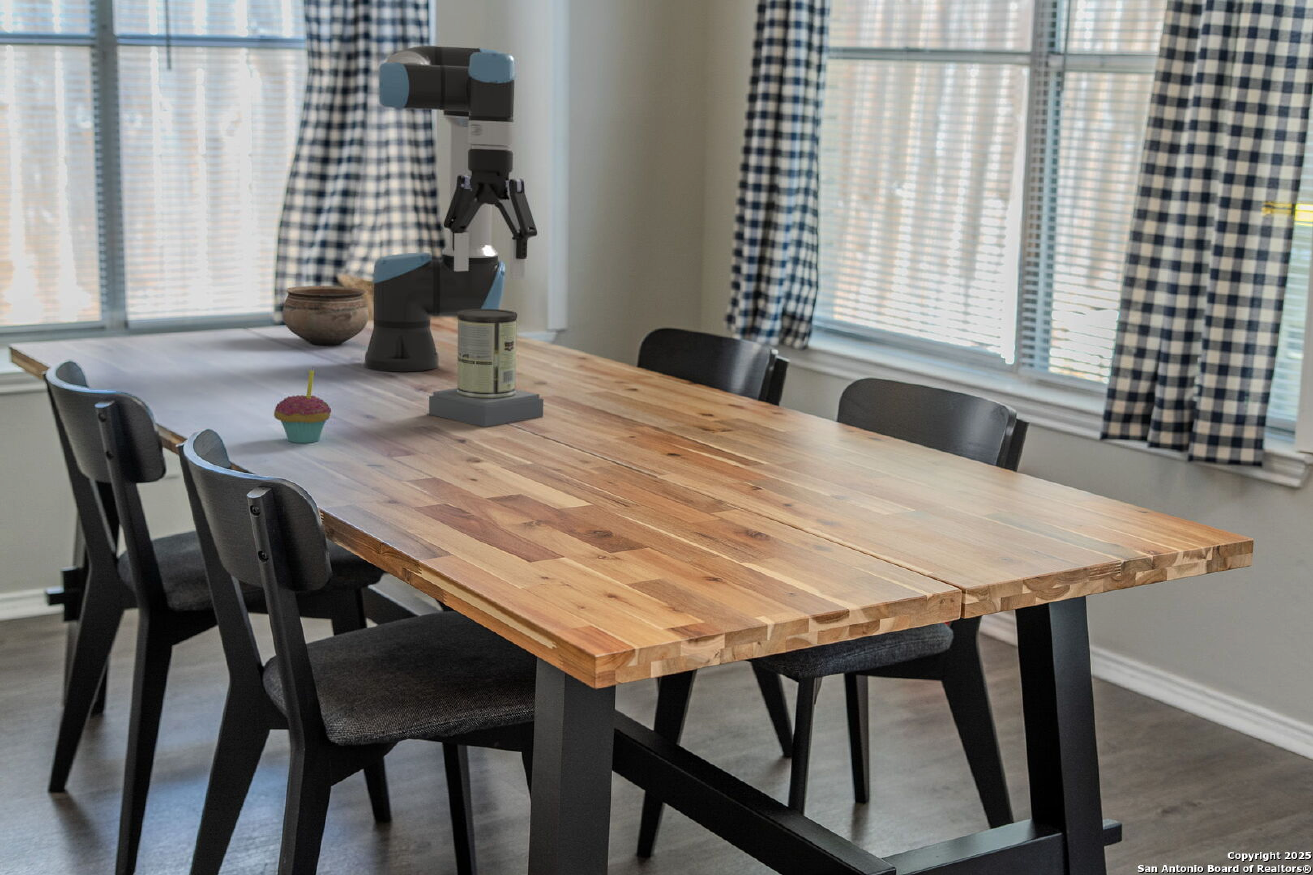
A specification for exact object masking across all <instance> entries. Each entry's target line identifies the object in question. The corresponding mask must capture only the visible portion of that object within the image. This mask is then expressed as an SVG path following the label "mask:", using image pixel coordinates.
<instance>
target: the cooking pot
mask: <svg viewBox="0 0 1313 875" xmlns="http://www.w3.org/2000/svg"><path fill="white" fill-rule="evenodd" d="M285 291H286V292H287V296H286V299H285V301H284V305H283V308H282V313H281V314H282V320H283V323H284V324H285V325H286V327H287V328H288V330H289V331H291V333H293V334H294V335H295V336H297V337H298V338H300V339H302V340H304V341H306V342H307V343H309V344H310V345H312V346H318V347H338V346H341V345H342V344H344V343H346V342H347V341H349V340H351V339H352V338H353V337H355V336H357V335H358V334H360V333H361V332H362V331H363V330H364V329H365V328H366V326H367V323H368V320H369V316H370V315H369V308H368V305H367V302H366V300H365V298H364V296H363V295H364V294H365V292H366V290H365V289H363V288H357V287H352V286H351V287H348V286H337V285H335V286H334V285H305V286H294V287H292V286H291V287H289V288H288V287H287V288H286V289H285Z"/></svg>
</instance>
